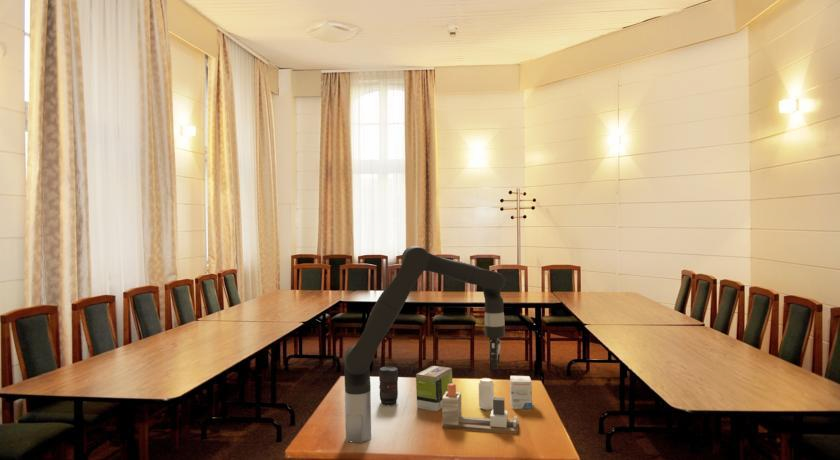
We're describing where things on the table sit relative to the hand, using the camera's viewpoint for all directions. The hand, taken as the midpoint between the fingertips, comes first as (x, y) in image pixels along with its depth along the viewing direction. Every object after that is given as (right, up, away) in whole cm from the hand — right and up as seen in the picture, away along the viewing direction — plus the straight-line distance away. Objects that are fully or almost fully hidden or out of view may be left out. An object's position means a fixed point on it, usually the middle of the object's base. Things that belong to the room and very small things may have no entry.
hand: (495, 366), depth 198 cm
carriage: (+1, -21, -1) cm, 21 cm away
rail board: (-6, -23, 0) cm, 24 cm away
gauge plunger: (-16, -18, +3) cm, 24 cm away
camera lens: (-42, -23, +28) cm, 56 cm away
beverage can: (-1, -23, +20) cm, 30 cm away
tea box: (-22, -23, +25) cm, 41 cm away
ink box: (+14, -23, +22) cm, 35 cm away
